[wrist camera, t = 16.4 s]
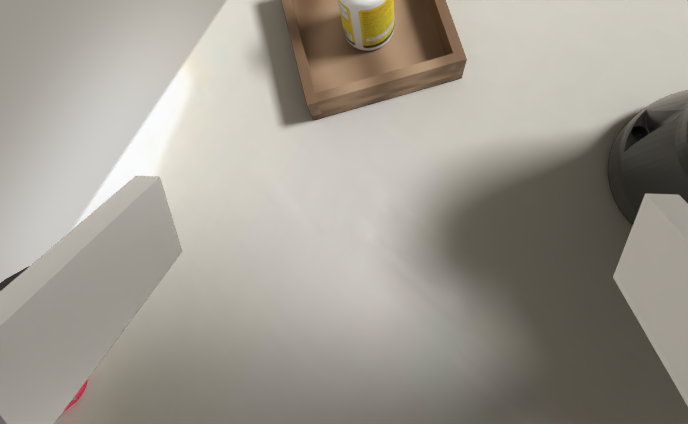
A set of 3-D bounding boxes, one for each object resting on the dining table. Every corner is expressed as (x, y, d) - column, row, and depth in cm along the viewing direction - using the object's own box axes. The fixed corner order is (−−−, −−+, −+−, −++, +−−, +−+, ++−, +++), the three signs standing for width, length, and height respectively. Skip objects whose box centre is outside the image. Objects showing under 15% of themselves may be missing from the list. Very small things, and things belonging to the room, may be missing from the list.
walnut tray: (418, -45, 49) (419, -71, 45) (461, 78, 45) (466, 59, 41) (283, -3, 50) (275, -26, 46) (314, 120, 46) (307, 105, 42)
